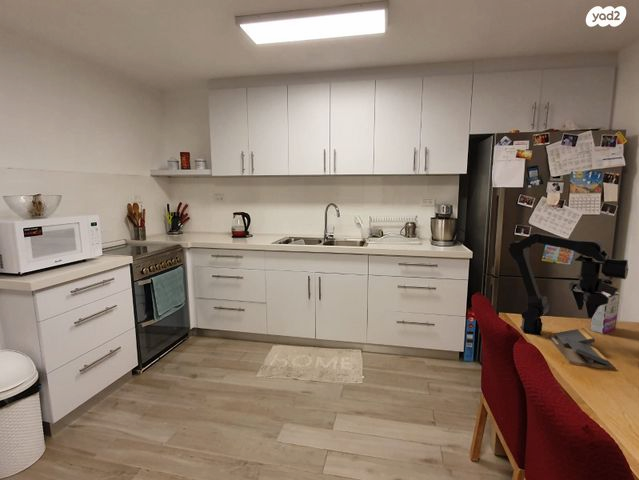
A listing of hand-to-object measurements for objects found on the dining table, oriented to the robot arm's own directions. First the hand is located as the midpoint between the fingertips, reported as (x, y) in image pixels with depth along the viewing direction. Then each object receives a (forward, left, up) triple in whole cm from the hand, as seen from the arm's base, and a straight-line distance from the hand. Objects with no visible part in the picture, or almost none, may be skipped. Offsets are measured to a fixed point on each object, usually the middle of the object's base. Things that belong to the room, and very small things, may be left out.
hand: (584, 313), depth 128 cm
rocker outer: (-3, -12, -10) cm, 16 cm away
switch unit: (-3, -6, -13) cm, 15 cm away
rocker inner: (-3, -1, -10) cm, 10 cm away
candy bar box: (+15, +21, -13) cm, 29 cm away
